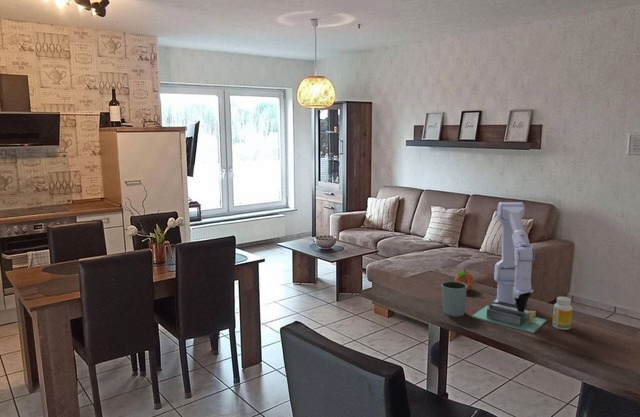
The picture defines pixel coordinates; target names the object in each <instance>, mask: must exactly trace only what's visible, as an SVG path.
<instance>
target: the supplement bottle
mask: <svg viewBox="0 0 640 417" xmlns="http://www.w3.org/2000/svg"><path fill="white" fill-rule="evenodd" d="M571 302H572V299H571V298H570V297H568V296H562V295H560V296H557V297H556V303H554V304H553V311H552V312H553V314H552V322H551V324H552V326H553V327H554V328H555V329H558V330H563V331H566V330H568V331H569V330H570V329H571V328H572V318H573V306H572V305H571Z"/></svg>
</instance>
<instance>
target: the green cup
mask: <svg viewBox="0 0 640 417" xmlns="http://www.w3.org/2000/svg"><path fill="white" fill-rule="evenodd" d="M440 288H441V296H442V297H441V299H442V312H443V314H444V315H446V316H449V317H463V316H464V315H465V312H466V301H467V285H466V284H465V283H462V282H457V281H455V280H447V281H444V282H442V283H441V286H440Z"/></svg>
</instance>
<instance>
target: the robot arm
mask: <svg viewBox="0 0 640 417" xmlns="http://www.w3.org/2000/svg"><path fill="white" fill-rule="evenodd" d="M525 209H526V208H525V204H524V203H523V202H522V201H518V202H517V201H515V202H512V201H511V202H505V201H504V202H502V201H500V202H498V204H497V207H496V215H497V216H496V219H497V221H498V222H500V224H501V259H500V260H499V261H497V262H496V263H495V264H494V271H493V279H494V281H495V283H497V285H496V287H497V291H496V299H494V300H493V302H498V301H501V302H505V303H510V304H514V305H517V310H518V311H522V312H523V311H524V310H525V307H526V306H527V304H528V302H529V299H530V297H531V296H532V293H533V292H534V289H532V283H531V282H532V265H533V262H534V261H535V258H536V251H535V247H534V246H533V245H532V244H531V243H530V240H529V236H528V232H526V231H525V230H524V228H523V227H524V226H523V220H522V219H523V217H524V215H525V211H526V210H525ZM493 302H492V303H493Z"/></svg>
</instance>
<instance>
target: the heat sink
mask: <svg viewBox="0 0 640 417" xmlns="http://www.w3.org/2000/svg"><path fill="white" fill-rule="evenodd" d="M492 304H499V305H503V306H508V307H512V308H517V305H516V304H510V303H505V302H501V301H498V302H492ZM492 304H491V303H489V304H488V306H489V309H487V318H488V319H492V320H496V321H499V322H503V323H507V324H511V325H515V326H519V327H520V326H521V325H523V324H524V323H525V322H526V321H527V320H528V319H529V325H533V324H534V323H535V317H536V314H537V313H536V310H532V308H531V307H525V310H526V311H529V312H528V314H529V315H524V314H520V313H515V312H511V311H507V310H502V309H498V308H493V305H492Z"/></svg>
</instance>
